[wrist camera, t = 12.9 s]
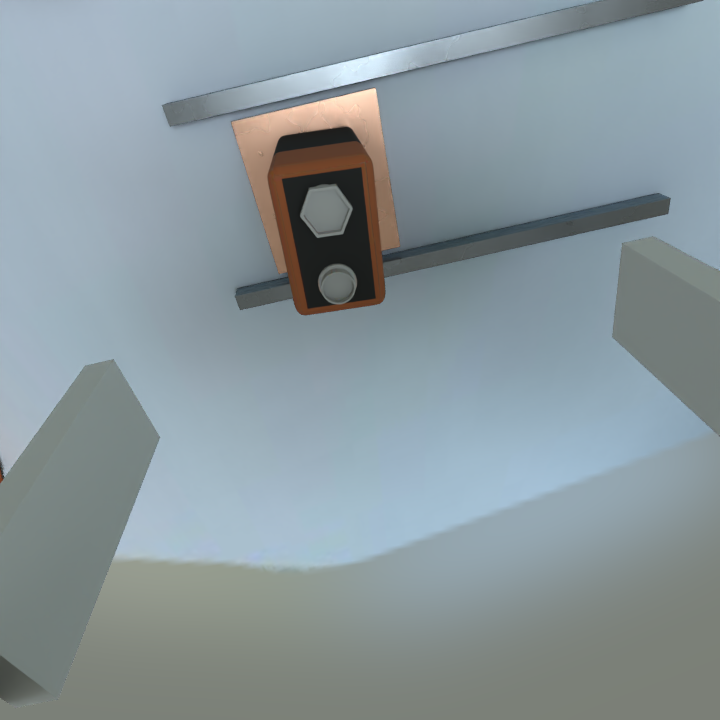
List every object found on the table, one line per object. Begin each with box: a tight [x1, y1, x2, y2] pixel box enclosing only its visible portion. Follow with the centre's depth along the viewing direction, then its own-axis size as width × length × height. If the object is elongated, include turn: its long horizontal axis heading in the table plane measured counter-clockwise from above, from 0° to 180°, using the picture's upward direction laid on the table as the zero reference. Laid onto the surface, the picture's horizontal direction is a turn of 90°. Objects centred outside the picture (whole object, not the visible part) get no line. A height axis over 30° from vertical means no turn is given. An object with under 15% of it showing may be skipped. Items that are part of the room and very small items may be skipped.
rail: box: [162, 0, 703, 310], centre depth 28 cm, size 12×28×1 cm, turn 101°
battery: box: [267, 127, 385, 315], centre depth 24 cm, size 4×7×10 cm, turn 7°
